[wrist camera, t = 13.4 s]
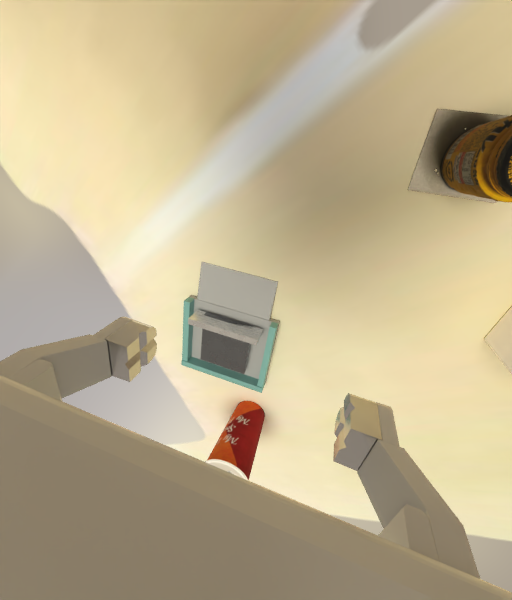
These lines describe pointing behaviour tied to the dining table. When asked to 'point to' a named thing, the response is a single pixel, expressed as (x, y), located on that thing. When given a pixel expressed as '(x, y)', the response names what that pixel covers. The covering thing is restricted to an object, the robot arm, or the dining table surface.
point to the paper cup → (239, 440)
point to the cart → (225, 340)
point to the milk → (502, 339)
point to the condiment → (467, 157)
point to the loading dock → (236, 306)
